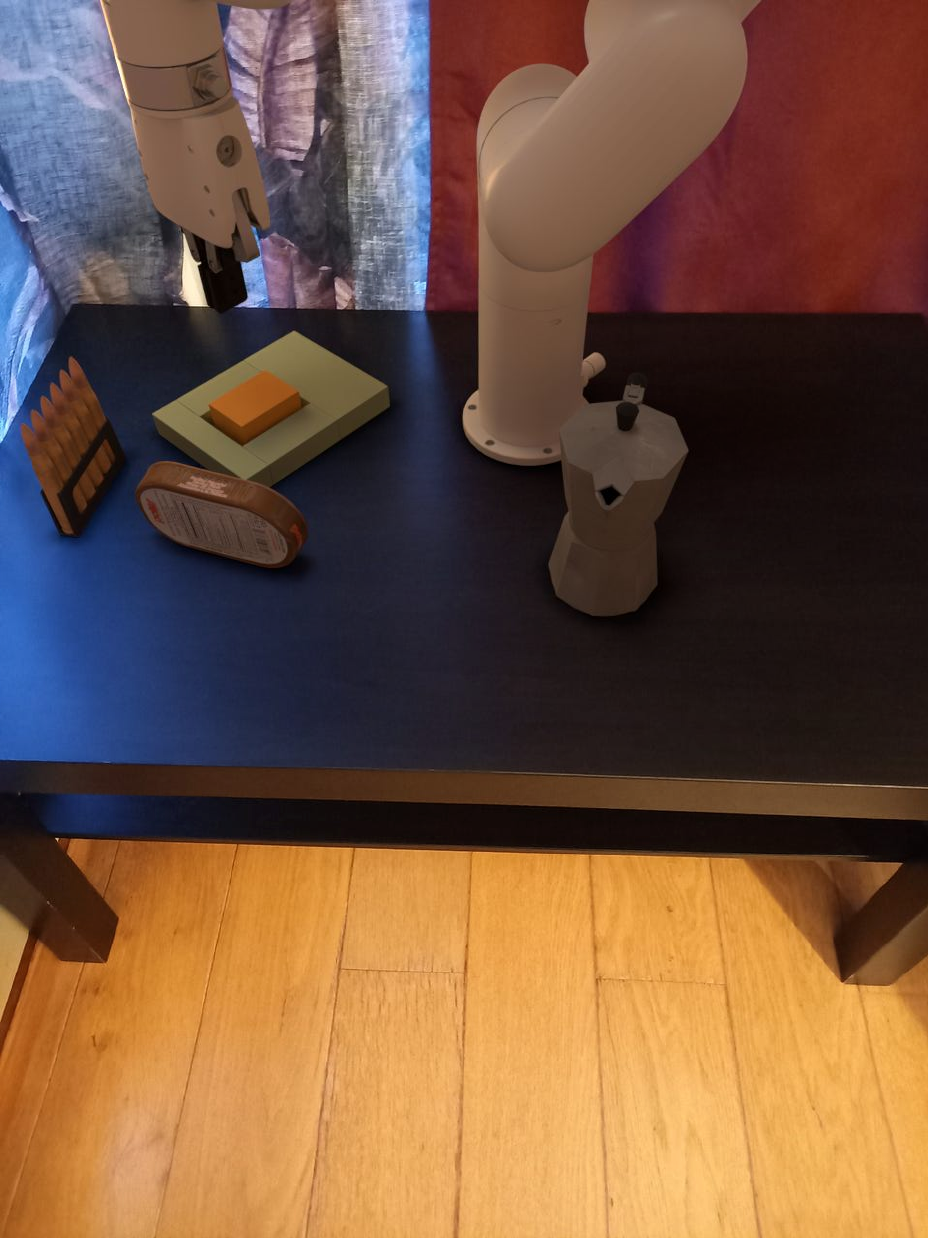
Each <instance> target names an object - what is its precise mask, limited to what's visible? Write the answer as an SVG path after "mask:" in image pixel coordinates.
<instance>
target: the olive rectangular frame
mask: <svg viewBox="0 0 928 1238" xmlns="http://www.w3.org/2000/svg"><path fill="white" fill-rule="evenodd" d="M265 370H266V371H268V372H269V373H271V374H272V375H274V376H276V377H277V378H279V379H280V380H282V381H284V382H285V383H287V384H288V385H290V386H291V387H293V388H295V389H296V390H298V391H299V394H300V400H301V405H302V409H300V410H299V411H297V412H296V413H294V414H293V415H291V416H289V417H288V418H286V419H285V420H283V421H282V422H280V423H278V424H277V425H275V426H274V427H272V428H271V429H269V430H267V431H266V432H264V433H263V434H261V435H260V436H258V437H256V438H255V439H253V440H252V441H250V442H249V443H247V444H245V445H244V446H243V447H242V446H240V445H239V444H238V443H236V442H235V441H233V440H232V439H230V438H229V437H228V436H226V435H225V434H223V433H222V432H220V431H219V430H218V429H216V428H215V426H214V422H213V419H212V415H211V412H210V408H209V403H211V402H213V401H214V400H216V399H218V398H219V397H221V396H223V395H224V394H226V393H228V392H229V391H231V390H233V389H234V388H236V387H238V386H239V385H241V384H243V383H244V382H246V381H248V380H249V379H251V378H253V377H255V376H256V375H258V374H260V373H261V372H263V371H265ZM390 402H391V401H390V393H389V386H388V385H386V383H384V382H382V381H380V380H379V379H377V378H375V377H373V376H372V375H369V373H366V372H365V371H363V370H362V369H360V368H358V367H356V366H354V365H353V364H351V363H350V362H348V361H346V360H345V359H343V358H341V357H340V356H338V355H336V354H335V353H334V352H331V351H329V350H328V349H326V348H325V347H323V346H321V345H319V344H318V343H316V342H315V341H312V340H311V339H309V338H307V337H306V336H305V335H302V334H301V333H299V332H297V331H296V330H293V331H291V332H289V333H287V334H286V335H284V336H283V337H280V338H279V339H277V340H275V341H274V342H272V343H271V344H268V345H267V346H266V347H264V348H262V349H260V350H259V351H257V352H255V353H253V354H252V355H250V356H248V357H246V358H245V359H243V360H242V361H240V362H238V363H237V364H235V365H233V366H231V367H230V368H228V369H226V370H224V371H223V372H221V373H219V374H217V375H216V376H214V377H213V378H211V379H209V380H207V381H206V382H204V383H202V384H201V385H199V386H197V387H195V388H193V389H192V390H190V391H188V392H187V393H185V394H183V395H181V396H180V397H178V398H177V399H174V400H173V401H171V402H170V403H168V404H166V405H164V406H162V407H161V408H160V409H158V410H156V411H154V412H152V413H151V415H152V418H153V421H154V424H155V427H156V429H157V432H158V435H160V436H161V437H163V438H164V439H165V440H167V441H168V442H169V443H170V444H172V445H173V446H175V447H176V448H177V449H179V451H182V452H183V453H184V454H186V455H187V456H188V457H189V458H191V459H192V460H194V461H195V462H197V463H198V464H199V465H201V466H202V467H204V468H205V470H208V471H212V472H215V473H220V474H224V475H228V476H232V477H236V478H240V479H244V480H248V481H252V482H256V483H259V484H262V485H264V486H267V487H269V488H271V487H272V486H274V485H275V484H277V483H278V482H281V480H283V479H284V478H286V477H287V476H289V475H291V474H292V473H294V472H295V471H297V470H298V469H299V468H302V466H305V464H307V463H309V462H310V461H311V460H313V459H315V458H316V457H317V456H319V455H320V454H322V453H323V452H325V451H326V450H328V449H329V448H330V447H332V446H334V445H335V444H336V443H338V442H339V441H341V440H342V439H344V438H346V437H347V436H348V435H350V434H351V433H352V432H354V431H356V430H357V429H359V428H361V427H362V426H363V425H365V424H366V423H368V422H369V421H371V420H372V419H374V418H375V417H376V416H378V415H379V414H381V413H382V412H384V411H385V410H387V409H389V408H390V407H391V404H390Z"/></svg>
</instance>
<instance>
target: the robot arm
mask: <svg viewBox="0 0 928 1238" xmlns="http://www.w3.org/2000/svg"><path fill="white" fill-rule="evenodd" d="M293 1H294V0H99V2H100V5H101V9H102V12H103V16H104V20H105V24H106V27H107V30H108V35H109V39H110V41H111V46H112V49H113V54H114V57H115V62H116V65H117V69H118V72H119V75H120V79H121V83H122V87H123V90H124V94H125V98H126V101H127V102H126V103H127V105H128V106H129V108H130V115H131V121H132V126H133V131H134V137H135V141H136V144H137V145H136V146H137V150H138V154H139V159H140V164H141V168H142V171H143V175H144V178H145V179H144V180H145V183H146V186H147V189H148V192H149V196H150V198H151V200H152V203H153V205H154V208H155V209H156V210H157V211H158V212H159V213H160V214H161V215H162V216H163V217H165V218H166V219H168V220H170V221H171V222H173V223H174V224H175V225H176V226H177V227H178V228H179V229H180V231H181V233H182V234H183V235H184V238H185V241H186V244H187V247H188V250H189V253H190V255H191V258H192V260H193V261H194V262H195V263H197V264H198V265H197V271H198V274H199V277H200V283H201V286H202V290H203V294H204V295H203V296H204V298H205V302H206V305H207V306H208V308H211V309H212V310H215V312H217V313H219V314H224V313H226V312H228V311H230V310H231V309H233V308H235V307H237V306H239V305H241V304H243V303H244V302H246V301H247V300H248V298H249V295H248V289H247V286H246V285H247V284H246V280H245V276H244V270H243V266H242V263H245V264H248V263H250V262H252V261H254V260H256V259H258V258H260V257H261V251H260V248H259V245H258V242H257V238H256V236H255V233H254V230H253V228H255V229H258V230H260V231H266V230H269V229H270V227H271V214H270V208H269V203H268V199H267V194H266V190H265V185H264V181H263V176H262V172H261V169H260V168H261V167H260V163H259V160H258V156H257V152H256V149H255V146H254V142H253V138H252V135H251V131H250V129H249V126H248V123H247V120H246V117H245V115H244V113H243V110H242V107H241V104H240V102H239V100H238V99H237V98H236V97H234V88H233V82H232V77H231V72H230V67H229V66H230V65H229V61H228V56H227V51H226V46H225V40H224V35H223V30H222V25H221V20H220V13H219V9H218V4H221V5H225V6H230V7H231V6H232V7H236V8H241V9H247V10H261V11H262V10H263V11H264V10H275V9H278V8H281V7H284V6H286V5H288V4H290V3H292V2H293ZM761 2H762V0H589V1H588V2H587V7H586V11H585V15H584V21H583V22H584V23H583V35H584V36H583V37H584V39H583V40H584V47H585V51H586V56H587V60H588V64H587V65H586V66H585V67H584V69H583V70H582V71H580V73H579V75H576V74H574V73H573V72H572V71H570V70H568V69H566V68H564V67H562V66H558V65H556V64H551V63H533V64H529V65H525V66H522V67H520V68H517V69H516V70H514V71H512V72H510V73H509V74H508V75H507V76H505V77H504V78H503V79H501V81H499V82H498V83H497V85H496V86H495V87H494V89H493V90H492V91H491V93H490V94H489V96H488V98H486V99H487V100H486V101H485V103H484V105H483V108H482V111H481V114H480V117H479V120H478V126H477V133H476V145H475V146H476V147H475V148H476V172H477V173H476V174H477V175H476V176H477V210H478V211H477V212H478V213H477V214H478V216H477V217H478V278H477V279H478V281H477V282H478V284H477V285H478V291H477V292H478V389H477V390H475V391H474V392H473V393H472V394H471V396H469V398H468V399H467V401H466V403H465V405H464V407H463V412H462V426H463V428H462V429H463V431H464V434H465V436H466V438H467V440H468V441H469V443H470V445H472V446H473V447H474V448H475V449H476V450H477V451H479V452H481V453H482V454H483V455H484V456H487V457H489V458H491V459H493V460H495V461H498V462H502V463H505V464H509V465H516V466H523V467H524V466H526V467H528V466H529V467H530V466H531V467H535V466H543V465H548V464H549V465H550V464H553V463H557V462H559V461H562V460H561V450H560V440H559V429H560V428H561V427H562V426H563V425H564V424H565V423H566V422H567V421H568V420H569V419H570V418H571V417H572V416H574V415H575V414H576V413H577V412H578V411H579V410H580V409H581V408H582V407H583V406H584V405H585V404H590V403H589V401H587V398H585V396H584V395H583V393H584V388H586V387H587V386H588V383H589V380H590V379H593V378H594V377H595V376H597V375H599V374H600V373H601V372H602V371H603V370H604V369H605V368H606V364H607V363H606V360H605V358H604V356H603V355H602V354H601V353H599V352H593V353H591V354H590V355H588V356H586V358H584V349H585V340H586V330H587V329H586V328H587V319H588V318H587V317H588V310H589V300H590V291H591V290H590V289H591V284H592V274H593V265H594V254H596V253H597V252H598V251H599V250H601V249H602V248H604V246H606V245H607V244H609V242H610V241H611V240H613V239H614V238H615V237H616V236H617V235H618V234H619V233H620V232H621V231H622V230H624V228H625V227H626V226H627V225H629V224H630V223H631V222H632V221H633V220H634V219H635V218H636V217H637V216H638V215H639V214H640V213H642V211H643V210H644V209H645V208H646V207H647V206H649V205H650V204H651V203H652V202H653V201H654V200H655V199H656V198H657V197H658V196H659V195H660V194H661V193H663V191H665V190H666V188H668V187H669V186H670V184H672V183H673V182H674V181H675V180H676V179H677V178H678V177H679V176H680V175H681V174H682V173H683V172H684V171H685V170H686V169H688V167H690V166H691V165H692V164H693V163H694V161H696V160H697V159H698V158H699V157H700V155H702V154H703V153H704V152H705V150H707V148H708V147H709V146H710V145H711V144H712V143H713V142H714V140H715V139H716V138H717V136H718V135H719V134H720V132H722V130H723V128H724V127H725V125H726V124H727V122H728V121H729V119H730V117H731V116H732V114H733V112H734V110H735V109H736V106H737V104H738V102H739V100H740V97H741V94H742V92H743V89H744V86H745V82H746V76H747V71H748V57H749V56H748V46H747V40H746V33H745V30H744V27H743V25H742V23H743V21H744V20H745V19H746V18H747V17H748V16H749V15H750V13H751V12H752V11H753V10H754V9H755V8H756V7H757V6H758V4H759V3H761Z"/></svg>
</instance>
